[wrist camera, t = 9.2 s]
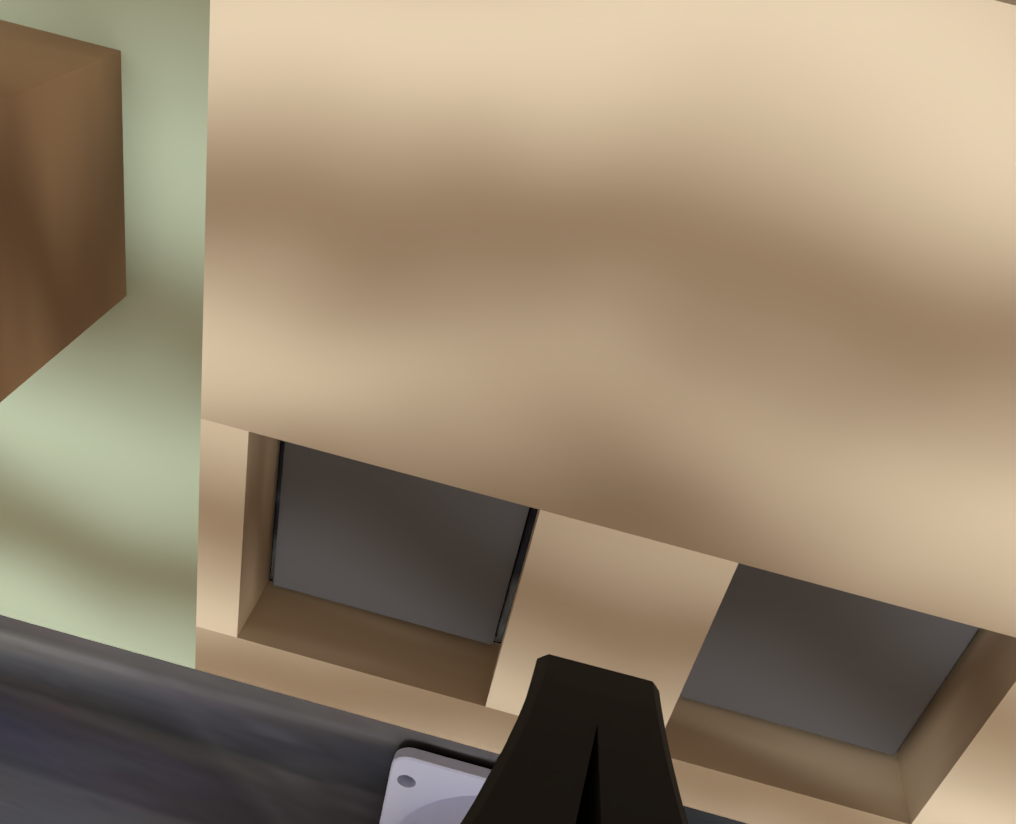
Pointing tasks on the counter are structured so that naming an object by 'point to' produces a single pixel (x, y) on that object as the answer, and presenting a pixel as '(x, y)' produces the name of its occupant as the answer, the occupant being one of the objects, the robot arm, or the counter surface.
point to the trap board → (559, 377)
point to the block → (57, 195)
